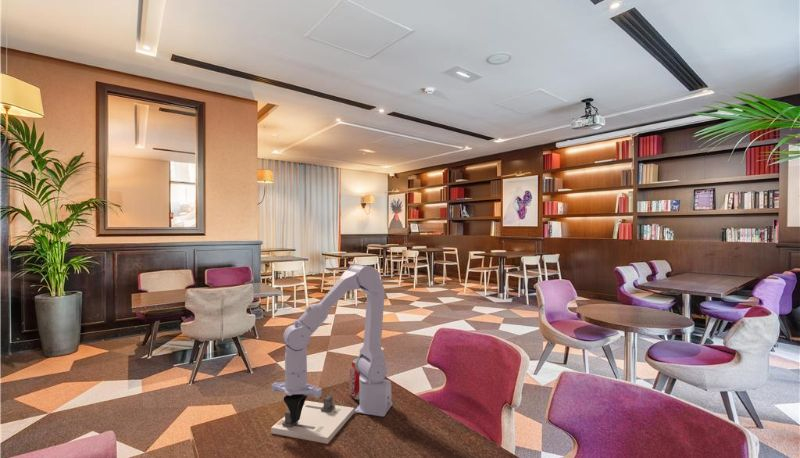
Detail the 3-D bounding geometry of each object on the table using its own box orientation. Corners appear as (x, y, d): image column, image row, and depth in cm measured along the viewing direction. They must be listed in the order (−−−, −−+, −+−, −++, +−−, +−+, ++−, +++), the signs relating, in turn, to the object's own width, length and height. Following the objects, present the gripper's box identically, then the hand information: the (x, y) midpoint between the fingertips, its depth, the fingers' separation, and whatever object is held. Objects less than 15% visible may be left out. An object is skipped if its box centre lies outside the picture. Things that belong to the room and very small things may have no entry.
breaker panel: (354, 412, 104) (353, 407, 104) (327, 443, 89) (327, 437, 89) (304, 405, 109) (304, 400, 109) (271, 433, 94) (271, 427, 94)
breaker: (335, 407, 104) (334, 395, 104) (330, 412, 101) (330, 400, 101) (326, 405, 105) (326, 394, 105) (320, 410, 102) (320, 399, 102)
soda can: (367, 402, 110) (367, 364, 111) (346, 400, 112) (346, 363, 112) (373, 392, 117) (373, 356, 118) (353, 391, 119) (353, 355, 119)
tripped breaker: (298, 421, 96) (298, 408, 97) (291, 427, 94) (291, 414, 94) (288, 419, 97) (288, 407, 97) (282, 425, 94) (282, 412, 95)
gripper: (263, 372, 93) (264, 424, 93) (311, 379, 89) (311, 432, 89) (280, 363, 100) (280, 411, 100) (325, 368, 96) (325, 418, 96)
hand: (296, 420), depth 95 cm, fingers closed
